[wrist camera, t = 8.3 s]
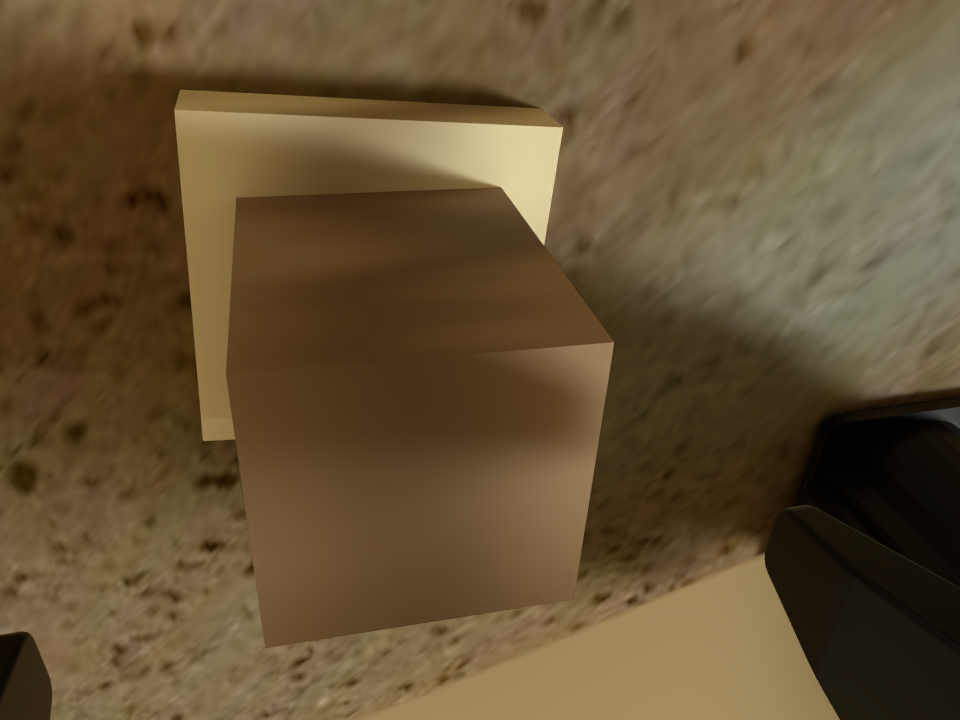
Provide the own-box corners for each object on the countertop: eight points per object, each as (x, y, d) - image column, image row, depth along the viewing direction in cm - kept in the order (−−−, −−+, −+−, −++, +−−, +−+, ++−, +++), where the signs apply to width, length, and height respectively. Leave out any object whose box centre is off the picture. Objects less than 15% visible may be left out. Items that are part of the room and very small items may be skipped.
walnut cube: (501, 187, 16) (614, 342, 11) (488, 397, 18) (573, 599, 13) (236, 197, 15) (225, 374, 10) (262, 419, 17) (265, 647, 12)
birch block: (532, 100, 17) (562, 127, 15) (493, 377, 21) (515, 423, 19) (182, 81, 15) (173, 109, 13) (207, 388, 19) (202, 441, 17)
